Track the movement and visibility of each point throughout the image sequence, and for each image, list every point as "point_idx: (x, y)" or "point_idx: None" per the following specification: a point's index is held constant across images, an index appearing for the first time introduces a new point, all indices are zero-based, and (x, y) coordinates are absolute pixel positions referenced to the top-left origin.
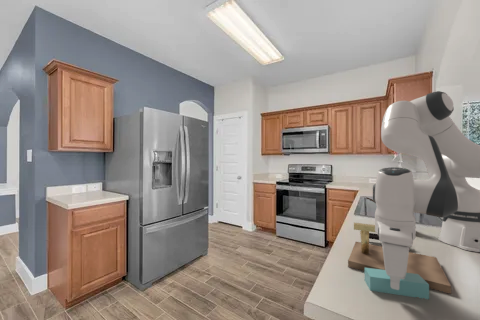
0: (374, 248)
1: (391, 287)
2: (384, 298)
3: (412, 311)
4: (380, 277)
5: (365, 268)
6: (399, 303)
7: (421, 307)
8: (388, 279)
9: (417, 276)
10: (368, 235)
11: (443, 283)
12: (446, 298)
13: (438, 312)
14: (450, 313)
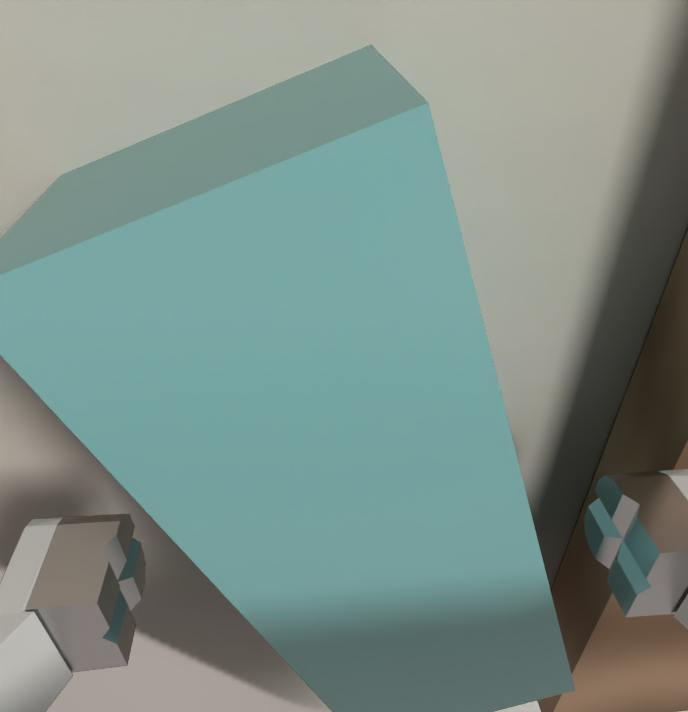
0: None
1: (31, 526)
2: None
3: (14, 537)
4: (113, 450)
5: (374, 137)
6: (57, 464)
7: (157, 572)
8: (171, 526)
9: (504, 693)
10: None
11: (572, 706)
12: None
13: (182, 630)
14: (231, 663)
